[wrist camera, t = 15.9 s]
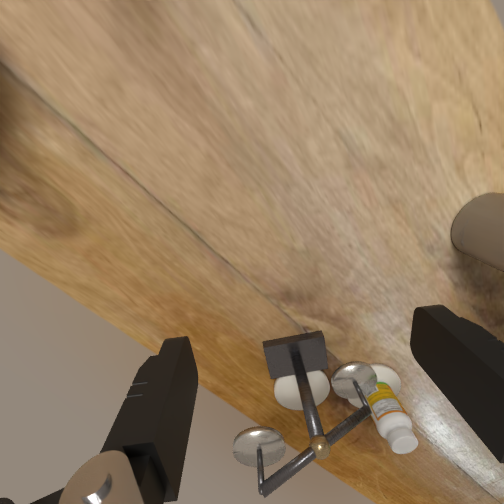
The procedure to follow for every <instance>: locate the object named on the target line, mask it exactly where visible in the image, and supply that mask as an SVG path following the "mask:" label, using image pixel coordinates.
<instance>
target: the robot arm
mask: <svg viewBox="0 0 504 504" xmlns="http://www.w3.org/2000/svg"><path fill="white" fill-rule="evenodd" d="M451 237H452V241H453V243H454V245H455V247H456V248H457V249H458V250H460V251H461V252H463V253H465V254H467V255H469V256H471V257H473V258H476V259H478V260H480V261H482V262H484V263H486V264H488V265H490V266H492V267H494V268H496V269H499V270H501V271H503V272H504V194H501V193H488V194H484V195H481V196H479V197H477V198H475V199H473V200H472V201H470V202H469V203H468V204H466V205H465V206H464V207H463V208H462V209H461V211H460V212H459V213H458V215H457V216H456V218H455V220H454V222H453V226H452V231H451ZM410 347H411V351H412V354H413V356H414V358H415V360H416V361H417V362H418V364H419V365H420V366H421V367H422V368H423V370H424V371H425V372H426V373H427V375H428V376H429V377H430V378H431V379H432V381H433V382H434V383H435V384H436V385H437V387H438V388H439V389H440V390H441V392H442V393H443V394H444V395H445V396H446V398H447V399H448V400H449V401H450V403H451V404H452V405H453V406H454V407H455V409H456V410H457V411H458V412H459V413H460V415H461V416H462V417H463V418H464V420H465V421H466V422H467V423H468V424H469V426H470V427H471V428H472V429H473V431H474V432H475V433H476V434H477V435H478V437H479V438H480V439H481V440H482V441H483V443H484V444H485V445H486V446H487V448H488V449H489V450H490V451H491V452H492V454H493V455H494V456H495V457H496V459H497V460H498V461H499V462H500V463H504V343H503V342H501V341H500V340H499V341H498V340H497V338H496V337H495V336H493V335H492V334H491V333H489V332H488V331H487V330H485V329H484V328H483V327H481V326H479V325H477V324H475V323H473V322H471V321H469V320H466V319H464V318H462V317H460V318H459V317H458V316H457V315H455V314H454V313H453V312H451V311H450V310H449V309H448V308H446V307H445V306H443V305H432V306H424V307H417V308H416V309H415V310H414V315H413V323H412V331H411V339H410ZM132 384H133V385H132V386H131V387H130V390H129V391H128V394H127V398H126V399H125V400H124V402H123V405H122V406H121V409H120V411H119V413H118V415H117V418H116V419H115V422H114V424H113V426H112V428H111V431H110V432H109V435H108V437H107V439H106V441H105V443H104V446H103V448H102V450H101V451H100V453H99V455H96V456H95V457H93V458H91V459H90V460H88V461H87V462H86V463H85V464H84V465H82V466H81V467H80V468H79V469H78V470H77V471H76V472H75V474H74V475H73V476H72V478H71V479H70V480H69V482H68V483H67V485H66V486H65V487H64V488H62V489H61V490H59V491H56V492H54V493H52V494H50V495H48V496H46V497H43V498H41V499H39V500H37V501H35V502H33V503H30V504H163V503H164V502H171V501H177V498H178V493H179V488H180V482H181V477H182V471H183V465H184V460H185V455H186V449H187V444H188V438H189V433H190V427H191V422H192V416H193V410H194V405H195V399H196V393H197V388H198V371H197V366H196V363H195V359H194V355H193V352H192V348H191V344H190V341H189V338H188V337H187V336H184V337H177V338H169V339H165V340H164V342H163V344H162V347H161V349H160V352H159V354H158V355H156V356H150V357H149V358H148V359H147V360H146V362H145V363H144V364H143V365H142V366H141V367H140V368H139V370H138V372H137V374H136V377H135V378H134V381H133V383H132ZM0 504H14V503H13V501H12V500H10V499H8V498H0Z"/></svg>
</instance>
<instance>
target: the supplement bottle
mask: <svg viewBox="0 0 504 504" xmlns="http://www.w3.org/2000/svg"><path fill="white" fill-rule="evenodd" d="M365 398H366V400H367V402H368V404H369V406H370V409H371V411H372V414H371V415H370V416H371V418H372V420H373V422H374V424H375V426H376V428H377V430H378V432H379V434H380V435H381V436H382V437H383V438H385V439H387V441H388V443H389V445H390V447H391V449H392V450H393V452H395V453H397V454H406V453H409V452H411V451H413V450H414V449H415V448H416V447H417V445H418V440H417V438H416V437H415V435H414V433H413V432H412V430H411V429H412V422H411V420H410V418H409V416H408V415H407V413H406V411H405V410H404V408H403V407H402V405H401V403H400V402H399V400H398V399H397V397H396V395H395V394H394V392H393V391H392V389H391V387H390V386H389V385H388V383H387V382H385V381H383V380H377V384H376V386H375V388H374V389H373V390H372V391H371V392H370V393H369V394H367V395H365Z"/></svg>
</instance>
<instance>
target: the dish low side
mask: <svg viewBox="0 0 504 504" xmlns="http://www.w3.org/2000/svg"><path fill="white" fill-rule="evenodd" d="M369 365H370V366H371V367H372V368H373V370H374V371H375V373H376V375H377V380H383V381H385V382H387V383H388V385H389V386H390V387H391V389H392V391H393V392H394V394H395V395H396V396H397V395H398V393H399V392H400V389H401V381H400V378H399V376H398V375H397V374H396V372H395V371H394V370H393V369H392V368H391V367H389V366H387V365H384V364H376V363H375V364H369ZM348 400H349V402H350V403H351V404H352V405H354V406H356V407H358V408H361V407H362V406H363V404H362V402H361V400H360V398H356V399H348Z"/></svg>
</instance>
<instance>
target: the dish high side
mask: <svg viewBox="0 0 504 504" xmlns="http://www.w3.org/2000/svg"><path fill="white" fill-rule="evenodd" d="M307 377H308V380H309V384H310V387H311V391H312V394H313V398H314V401H315V404H316V406H317V405H319V404H320V403H322V402H323V401H324V400H325V399H326V398H327V396H328V394H329V391H330V384H329V381H328V378H327V376H326V374H325V373H324V371H323V370H318V371H312V372H307ZM274 392H275V397H276V399H277V401H278V402H279V403H280V404H281V405H282V406H284V407H286V408H288V409H292V410H303V407H302V402H301V398H300V394H299V390H298V386H297V381H296V377H295V375H290V376H285V377H280V378H276V380H275V382H274Z"/></svg>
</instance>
